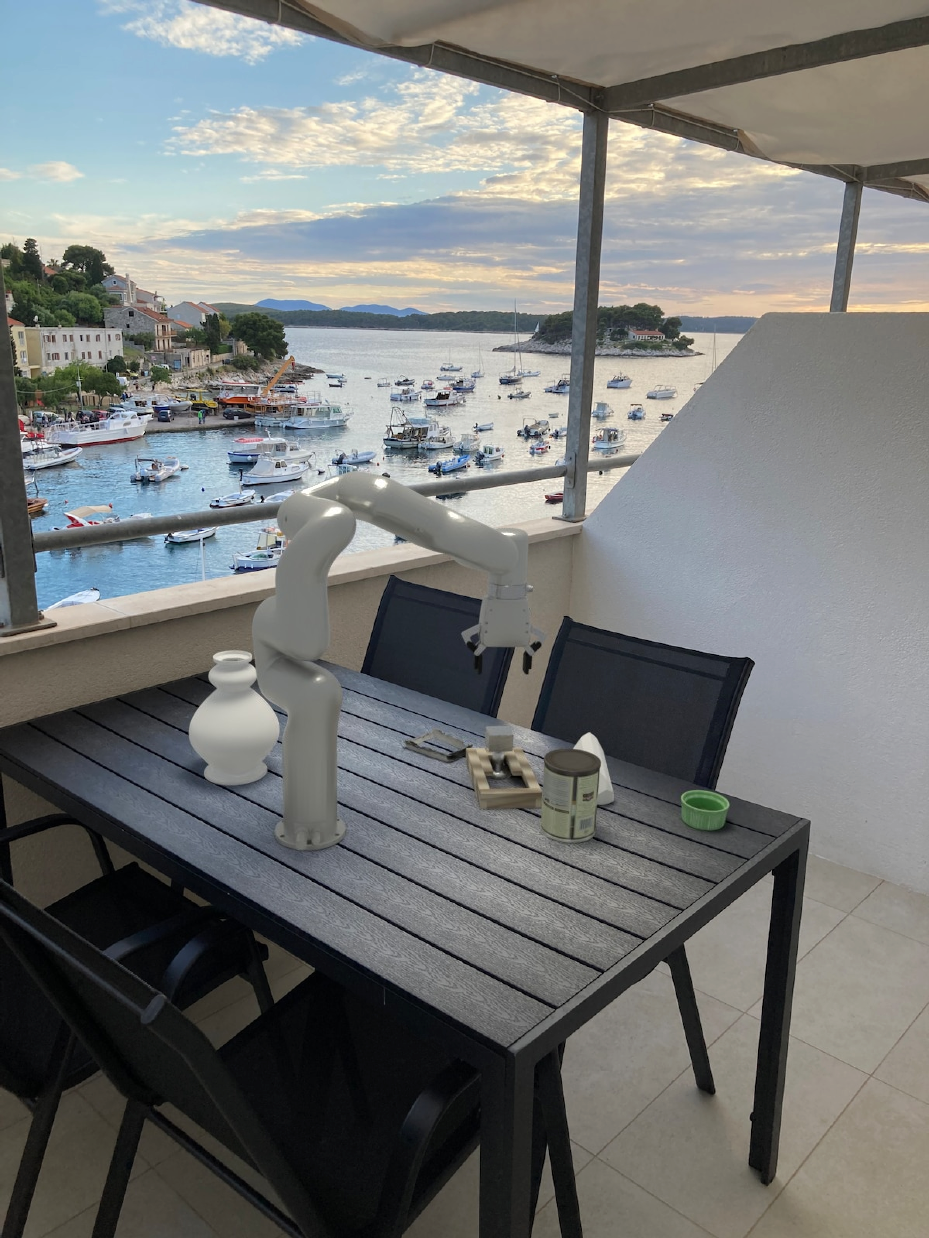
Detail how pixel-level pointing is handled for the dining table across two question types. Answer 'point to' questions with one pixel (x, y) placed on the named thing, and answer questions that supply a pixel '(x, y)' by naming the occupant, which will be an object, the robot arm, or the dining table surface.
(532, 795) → the keyhole plate
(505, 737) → the keyhole peg
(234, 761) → the decorative vase
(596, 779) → the coffee can
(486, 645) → the robot arm
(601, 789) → the crystal
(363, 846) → the dining table surface
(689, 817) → the ramekin
